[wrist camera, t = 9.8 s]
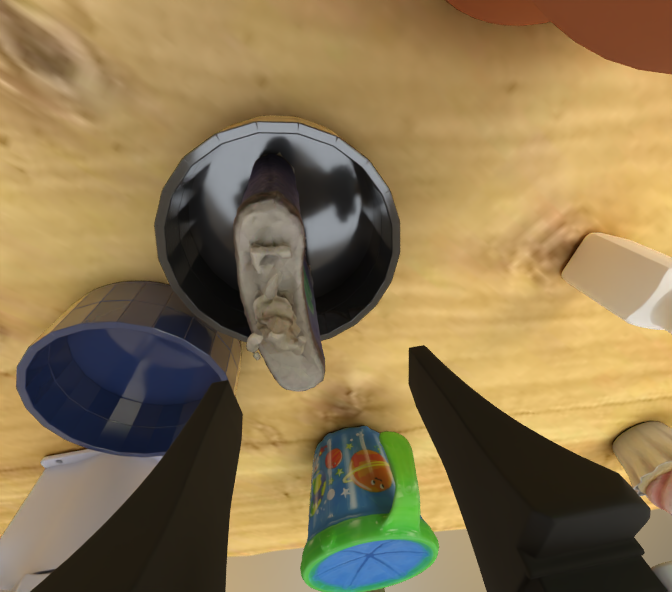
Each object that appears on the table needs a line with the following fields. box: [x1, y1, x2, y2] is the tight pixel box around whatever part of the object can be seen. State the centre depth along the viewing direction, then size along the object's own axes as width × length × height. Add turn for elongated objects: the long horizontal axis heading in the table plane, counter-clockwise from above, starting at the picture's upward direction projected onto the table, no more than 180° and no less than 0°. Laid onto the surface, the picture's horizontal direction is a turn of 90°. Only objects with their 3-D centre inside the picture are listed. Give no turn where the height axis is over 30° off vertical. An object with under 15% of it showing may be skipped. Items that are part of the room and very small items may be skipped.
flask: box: [233, 152, 325, 391], centre depth 15 cm, size 9×3×11 cm, turn 6°
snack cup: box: [300, 426, 439, 592], centre depth 29 cm, size 16×10×10 cm
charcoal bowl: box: [154, 115, 400, 342], centre depth 18 cm, size 12×12×4 cm
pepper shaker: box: [561, 232, 672, 334], centre depth 20 cm, size 4×4×10 cm
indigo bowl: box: [16, 281, 241, 457], centre depth 22 cm, size 12×12×4 cm
